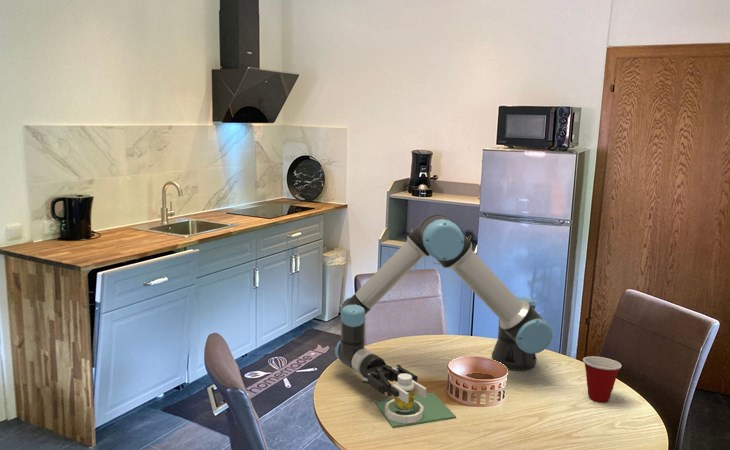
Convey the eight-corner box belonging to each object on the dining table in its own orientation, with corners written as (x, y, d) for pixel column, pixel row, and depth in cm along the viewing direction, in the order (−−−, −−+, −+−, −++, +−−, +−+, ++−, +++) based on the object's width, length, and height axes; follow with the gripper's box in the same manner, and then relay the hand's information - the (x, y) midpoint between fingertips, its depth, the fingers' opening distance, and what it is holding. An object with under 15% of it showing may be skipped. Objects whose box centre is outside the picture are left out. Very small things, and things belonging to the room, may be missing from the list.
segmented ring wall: (414, 402, 168) (414, 396, 168) (429, 420, 158) (429, 413, 158) (380, 407, 165) (380, 401, 165) (393, 425, 155) (393, 418, 155)
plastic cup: (618, 394, 177) (622, 357, 175) (617, 409, 167) (621, 371, 165) (581, 387, 181) (584, 351, 179) (578, 401, 172) (581, 364, 170)
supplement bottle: (405, 401, 165) (406, 370, 163) (417, 409, 161) (418, 377, 159) (390, 406, 162) (391, 374, 161) (402, 414, 158) (403, 382, 156)
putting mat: (433, 394, 175) (433, 392, 175) (455, 417, 161) (456, 416, 161) (374, 402, 169) (374, 400, 169) (392, 427, 155) (392, 426, 155)
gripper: (393, 370, 181) (441, 400, 162) (343, 383, 171) (388, 417, 152) (393, 347, 180) (442, 375, 160) (343, 359, 170) (389, 390, 150)
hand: (416, 395), depth 156 cm, fingers closed on supplement bottle, 5 cm apart
